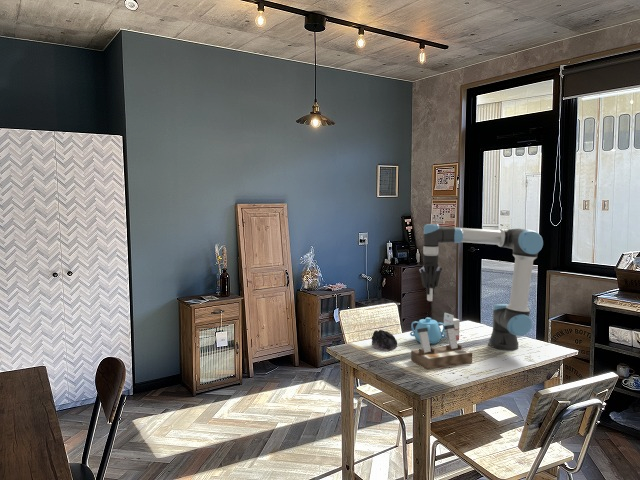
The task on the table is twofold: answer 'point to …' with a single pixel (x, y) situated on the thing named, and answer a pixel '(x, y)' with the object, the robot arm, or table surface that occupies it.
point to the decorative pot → (429, 330)
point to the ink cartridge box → (454, 322)
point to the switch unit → (441, 357)
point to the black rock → (383, 340)
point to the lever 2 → (451, 336)
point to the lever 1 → (424, 339)
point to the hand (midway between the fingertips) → (429, 300)
